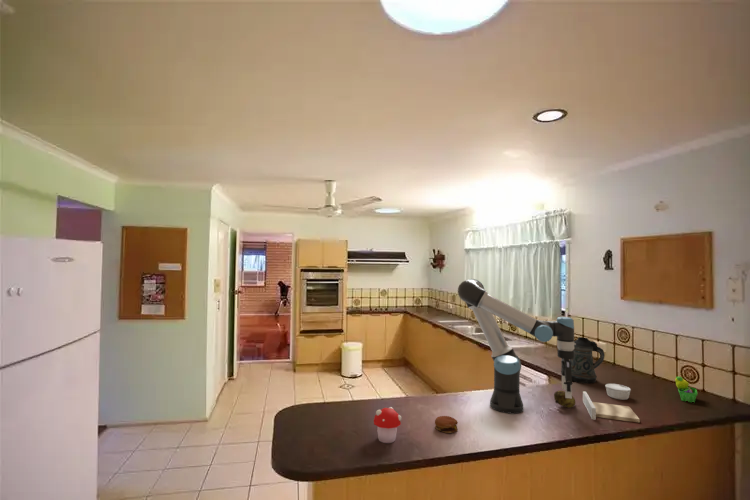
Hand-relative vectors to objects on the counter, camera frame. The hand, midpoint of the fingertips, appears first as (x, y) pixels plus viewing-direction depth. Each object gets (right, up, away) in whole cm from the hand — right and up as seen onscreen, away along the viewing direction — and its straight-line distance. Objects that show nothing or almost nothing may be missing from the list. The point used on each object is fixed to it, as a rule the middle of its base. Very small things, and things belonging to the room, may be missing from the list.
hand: (566, 393), depth 186 cm
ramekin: (+35, -8, +16) cm, 39 cm away
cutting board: (+18, -7, -7) cm, 21 cm away
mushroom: (-89, -4, -37) cm, 96 cm away
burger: (-64, -5, -27) cm, 69 cm away
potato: (-1, -7, 0) cm, 7 cm away
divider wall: (+9, -7, -3) cm, 12 cm away
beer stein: (+33, -9, +45) cm, 56 cm away
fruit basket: (+69, -8, +14) cm, 71 cm away
